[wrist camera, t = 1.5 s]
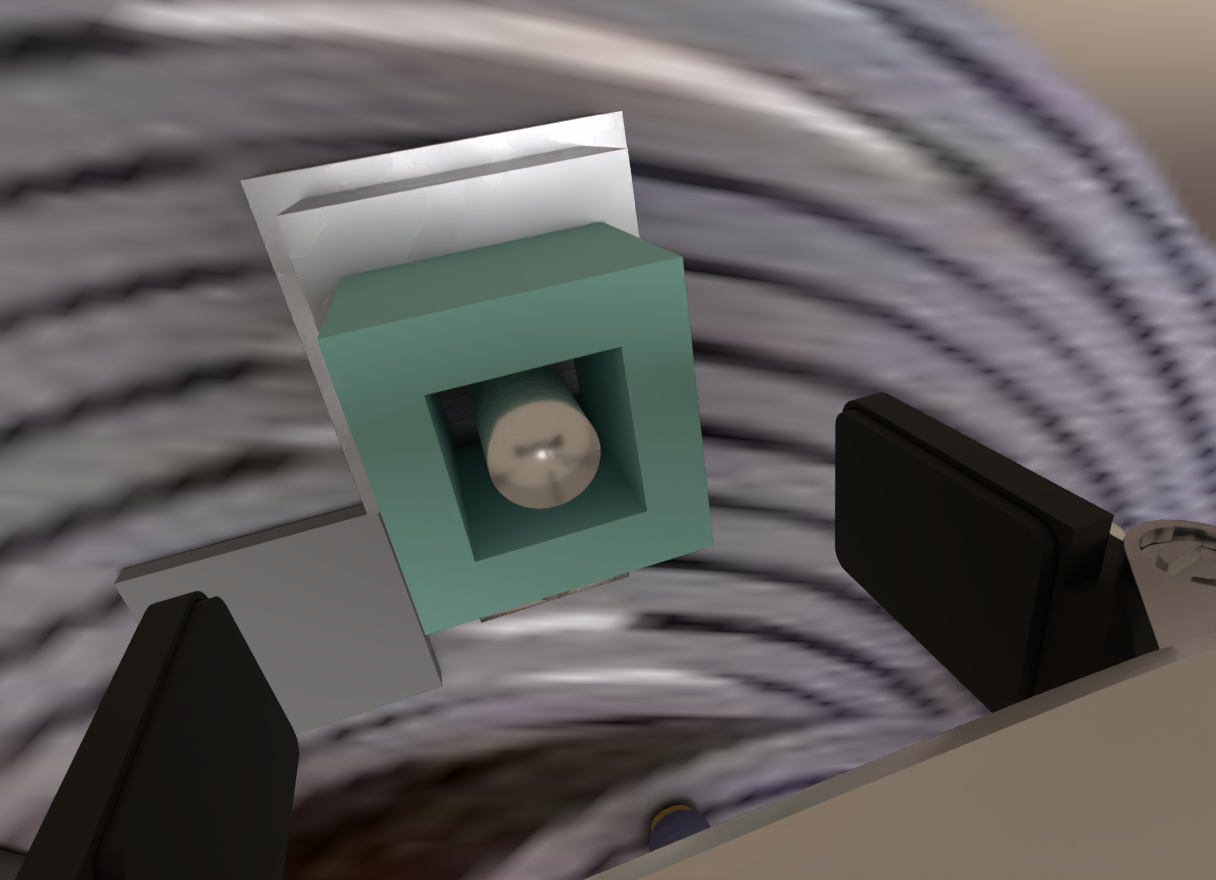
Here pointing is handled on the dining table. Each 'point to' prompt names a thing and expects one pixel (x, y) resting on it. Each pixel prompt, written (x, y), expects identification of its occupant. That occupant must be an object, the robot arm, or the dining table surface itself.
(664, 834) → the rubber mallet
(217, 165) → the dining table surface
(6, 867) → the liquor
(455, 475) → the collar
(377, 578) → the mat
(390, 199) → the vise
